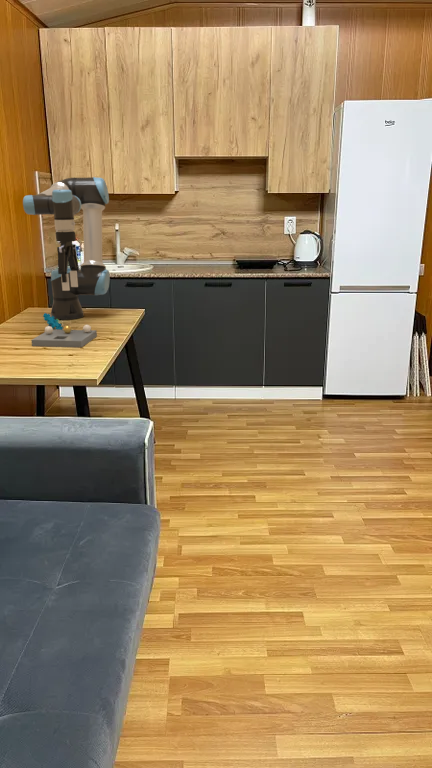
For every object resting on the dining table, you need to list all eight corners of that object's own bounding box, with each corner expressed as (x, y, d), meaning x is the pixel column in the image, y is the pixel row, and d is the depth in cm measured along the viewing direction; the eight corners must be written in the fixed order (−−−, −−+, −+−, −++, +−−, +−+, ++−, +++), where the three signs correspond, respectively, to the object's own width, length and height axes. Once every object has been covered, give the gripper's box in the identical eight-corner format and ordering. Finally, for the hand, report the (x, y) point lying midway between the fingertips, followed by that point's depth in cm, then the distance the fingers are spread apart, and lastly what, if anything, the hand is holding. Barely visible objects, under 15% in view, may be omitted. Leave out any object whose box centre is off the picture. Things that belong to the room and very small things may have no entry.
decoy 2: (84, 331, 229) (84, 323, 228) (92, 331, 229) (91, 324, 228) (82, 333, 226) (81, 325, 225) (89, 333, 226) (89, 325, 225)
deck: (50, 335, 234) (50, 329, 233) (96, 336, 232) (96, 330, 231) (32, 346, 217) (31, 339, 216) (81, 347, 215) (81, 341, 214)
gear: (58, 329, 236) (41, 312, 236) (49, 339, 238) (32, 322, 237) (68, 327, 247) (51, 311, 247) (59, 336, 248) (43, 320, 248)
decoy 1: (47, 332, 227) (46, 325, 226) (54, 333, 227) (53, 325, 226) (43, 334, 224) (42, 326, 223) (51, 335, 224) (50, 327, 223)
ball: (65, 332, 228) (64, 324, 227) (73, 332, 228) (72, 324, 227) (62, 334, 225) (61, 326, 224) (70, 334, 225) (69, 326, 224)
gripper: (64, 232, 210) (69, 293, 217) (83, 229, 230) (88, 284, 237) (45, 232, 211) (51, 292, 218) (66, 229, 231) (71, 284, 238)
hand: (70, 288), depth 228 cm, fingers open, 9 cm apart
